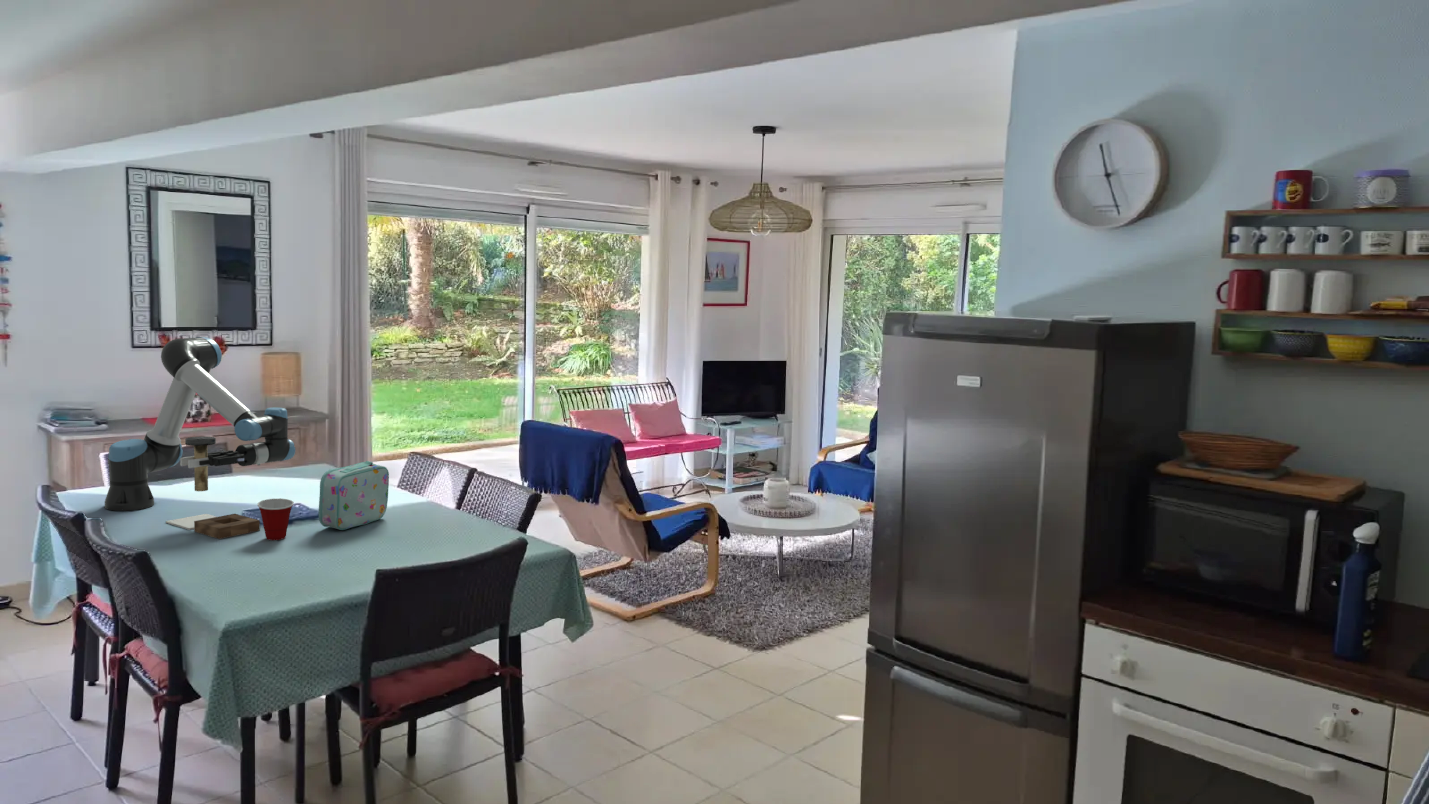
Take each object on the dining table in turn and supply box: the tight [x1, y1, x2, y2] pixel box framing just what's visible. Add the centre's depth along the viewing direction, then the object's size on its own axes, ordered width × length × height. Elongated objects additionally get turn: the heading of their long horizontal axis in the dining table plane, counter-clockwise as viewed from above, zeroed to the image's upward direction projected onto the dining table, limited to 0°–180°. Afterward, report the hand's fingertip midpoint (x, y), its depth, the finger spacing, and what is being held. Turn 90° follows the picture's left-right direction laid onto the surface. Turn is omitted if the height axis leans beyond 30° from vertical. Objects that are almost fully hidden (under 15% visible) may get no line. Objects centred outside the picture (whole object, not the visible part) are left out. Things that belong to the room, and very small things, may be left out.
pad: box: [165, 513, 217, 531], centre depth 325 cm, size 14×14×1 cm
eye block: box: [193, 513, 261, 540], centre depth 316 cm, size 14×14×4 cm
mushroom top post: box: [184, 436, 217, 492], centre depth 322 cm, size 9×9×18 cm
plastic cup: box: [256, 498, 294, 541], centre depth 310 cm, size 11×11×12 cm
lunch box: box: [317, 460, 390, 531], centre depth 332 cm, size 27×10×21 cm, turn 160°
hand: (184, 463), depth 317 cm, fingers closed on mushroom top post, 4 cm apart
